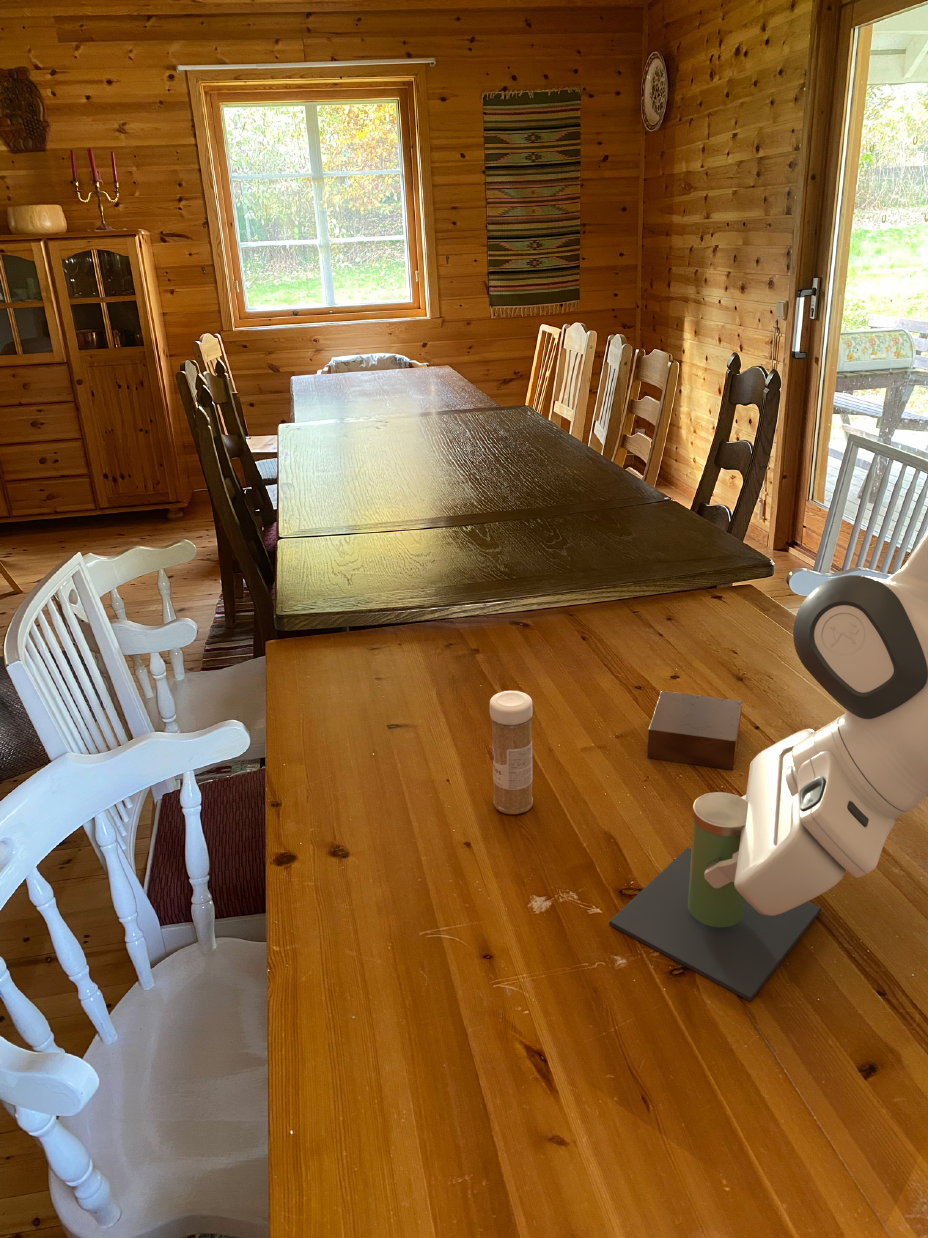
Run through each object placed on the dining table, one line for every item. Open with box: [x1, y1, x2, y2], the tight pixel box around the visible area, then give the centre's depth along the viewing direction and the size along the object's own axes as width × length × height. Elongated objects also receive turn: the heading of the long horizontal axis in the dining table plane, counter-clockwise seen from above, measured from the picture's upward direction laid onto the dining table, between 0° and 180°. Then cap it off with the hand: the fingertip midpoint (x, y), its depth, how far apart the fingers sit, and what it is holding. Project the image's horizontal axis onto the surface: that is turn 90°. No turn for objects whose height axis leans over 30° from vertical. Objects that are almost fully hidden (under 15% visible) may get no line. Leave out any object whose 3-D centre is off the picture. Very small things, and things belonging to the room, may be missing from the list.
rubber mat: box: [608, 847, 822, 1002], centre depth 85 cm, size 14×14×1 cm
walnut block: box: [646, 690, 743, 771], centre depth 112 cm, size 10×10×4 cm
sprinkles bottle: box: [489, 690, 534, 815], centre depth 100 cm, size 5×5×13 cm
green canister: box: [688, 791, 749, 927], centre depth 82 cm, size 5×5×11 cm
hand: (713, 855), depth 82 cm, fingers closed on green canister, 5 cm apart
